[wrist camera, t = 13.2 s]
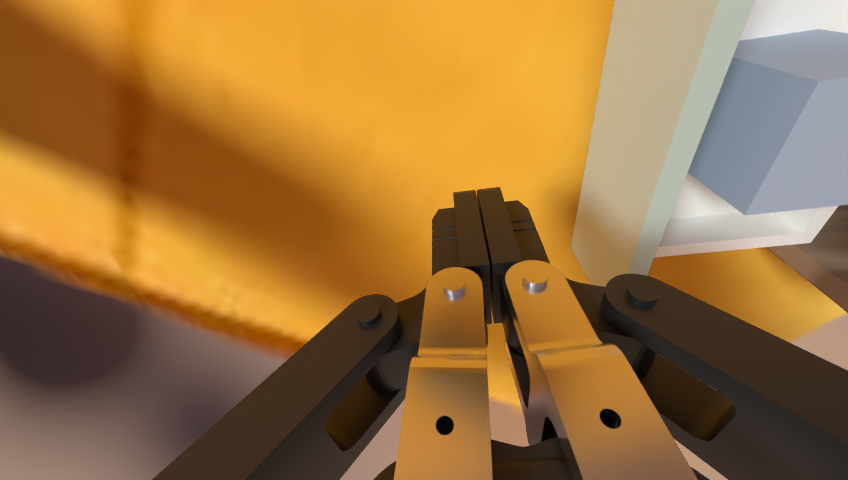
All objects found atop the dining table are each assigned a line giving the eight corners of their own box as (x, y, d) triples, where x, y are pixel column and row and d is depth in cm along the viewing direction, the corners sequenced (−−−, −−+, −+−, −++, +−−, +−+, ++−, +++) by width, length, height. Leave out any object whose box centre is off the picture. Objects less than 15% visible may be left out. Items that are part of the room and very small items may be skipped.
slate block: (661, 152, 18) (744, 215, 13) (695, 47, 15) (819, 81, 10) (762, 139, 18) (884, 200, 13) (818, 29, 14) (1007, 55, 10)
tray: (570, 247, 24) (610, 322, 18) (645, -170, 12) (813, -280, 7) (749, 229, 23) (843, 304, 17) (1029, -248, 11) (1578, -448, 6)
